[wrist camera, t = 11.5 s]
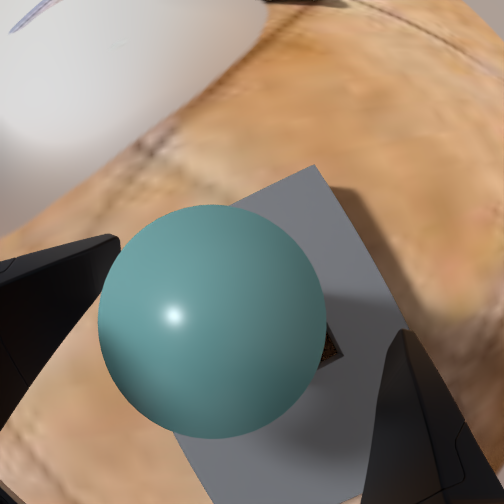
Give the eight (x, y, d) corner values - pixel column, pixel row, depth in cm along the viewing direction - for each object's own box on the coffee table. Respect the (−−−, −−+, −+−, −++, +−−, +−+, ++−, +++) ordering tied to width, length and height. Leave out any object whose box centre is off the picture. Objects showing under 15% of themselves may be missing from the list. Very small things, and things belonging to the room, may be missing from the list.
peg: (318, 348, 17) (368, 375, 5) (245, 383, 17) (152, 464, 5) (282, 277, 18) (256, 167, 6) (211, 313, 18) (74, 267, 6)
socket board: (438, 426, 15) (455, 437, 12) (243, 517, 15) (236, 537, 12) (312, 184, 20) (314, 164, 17) (127, 279, 20) (107, 271, 17)
